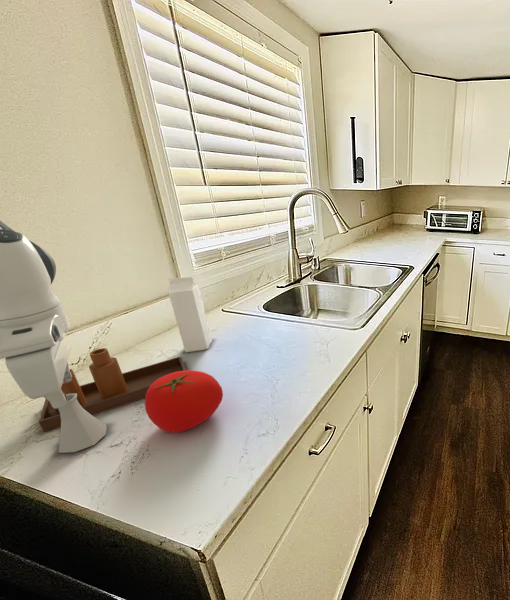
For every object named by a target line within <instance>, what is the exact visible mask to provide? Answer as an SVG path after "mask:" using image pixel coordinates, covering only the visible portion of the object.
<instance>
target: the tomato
mask: <svg viewBox="0 0 510 600" xmlns="http://www.w3.org/2000/svg"><path fill="white" fill-rule="evenodd" d="M186 370H187V369H186ZM223 396H224V391H223V387H222V386H221V384H220V383H219V381H217V379H216V378H215V377H214V376H212V375H211V374H209V373H206V372H204V371H199V370H191V369H190V370H187V371H178V372H174V373H170V374H168V375H165V376H163V377H161V378H159V379H157V380H156V381H155V382H154V383H153V384H152V385H151V386H150V387H149V388H148V390H147V393H146V396H145V398H144V410H145V412H146V414H147V416H148V419H149V420H150V421H151V422H152V423H153V424H154V425H155V426H156V427H158V429H160V430H162V431H164V432H167V433H171V434H177V433H182V432H185V431H189V430H191V429H193V428H195V427H196V426H197V427H198V425H200V424H202V423H203V422H205V421H206V420H207V419H209V418H210V417H211V416H212V415H214V414H215V412H216V411H217V409H218V408H219V407H220V405H221V402H222V400H223V398H224V397H223Z"/></svg>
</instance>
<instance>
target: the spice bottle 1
mask: <svg viewBox="0 0 510 600" xmlns="http://www.w3.org/2000/svg"><path fill="white" fill-rule="evenodd" d="M69 370H70V372H71V375H72V379H71V381H70V382H66V383H64V384H62V387H61V390H62V392H63V393H65V395H67V394H72V393H77V401H78V403H79V404H80V405H81V406H82V407H83V406H85V405H86V403H87V401H86V399H85V397H84V394H83V392H82V390H81V388H80V386H81V385H80V383H79V381H78V379H77V377H76V374H75V372H74V370H73V369H70V368H69ZM55 410H56V412H57V413H58V414H60V411H59V409H58V408H55Z"/></svg>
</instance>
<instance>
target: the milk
mask: <svg viewBox="0 0 510 600" xmlns="http://www.w3.org/2000/svg"><path fill="white" fill-rule="evenodd" d="M168 281H169V288H168V297H169V300H170V304H171V308H172V310H173V314H174V318H175V320H176V325H177V328H178V331H179V335H180V338H181V342H182V345H183V350H184V352H185V353H190V352H199V351H204V350H206V351H207V350H208V349H209V347H210V346H211V343H212V341H213V339H212V334H211V331H210V330H211V329H210V326H209V323H208V319H207V313H206V310H205V307H204V303H203V298H202V293H201V290H200V286H199V284H198V283H197V282H196V281H195V280H194V277H193V276H184V277H171V278H169V279H168Z"/></svg>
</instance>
